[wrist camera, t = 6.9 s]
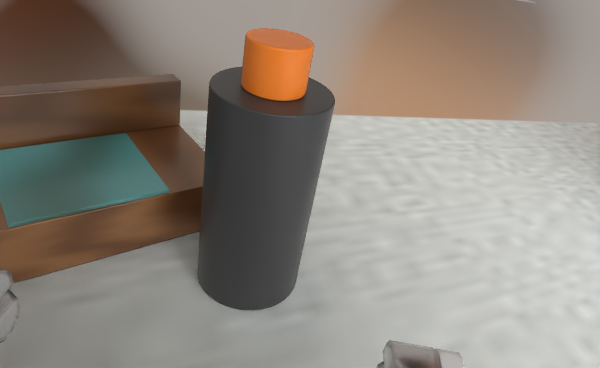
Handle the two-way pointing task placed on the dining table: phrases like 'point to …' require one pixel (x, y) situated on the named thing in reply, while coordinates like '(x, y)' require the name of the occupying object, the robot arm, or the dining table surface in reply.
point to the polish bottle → (261, 170)
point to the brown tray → (93, 171)
